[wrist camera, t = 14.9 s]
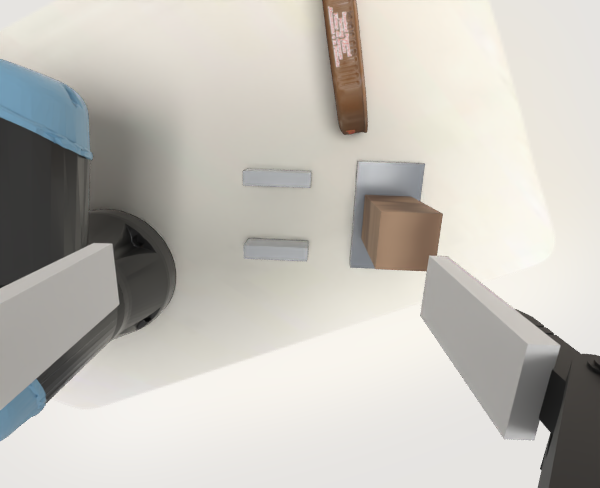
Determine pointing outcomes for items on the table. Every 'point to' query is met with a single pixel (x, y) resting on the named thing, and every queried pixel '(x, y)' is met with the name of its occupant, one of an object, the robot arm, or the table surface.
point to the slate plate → (380, 182)
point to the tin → (346, 64)
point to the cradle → (274, 247)
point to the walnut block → (400, 232)
